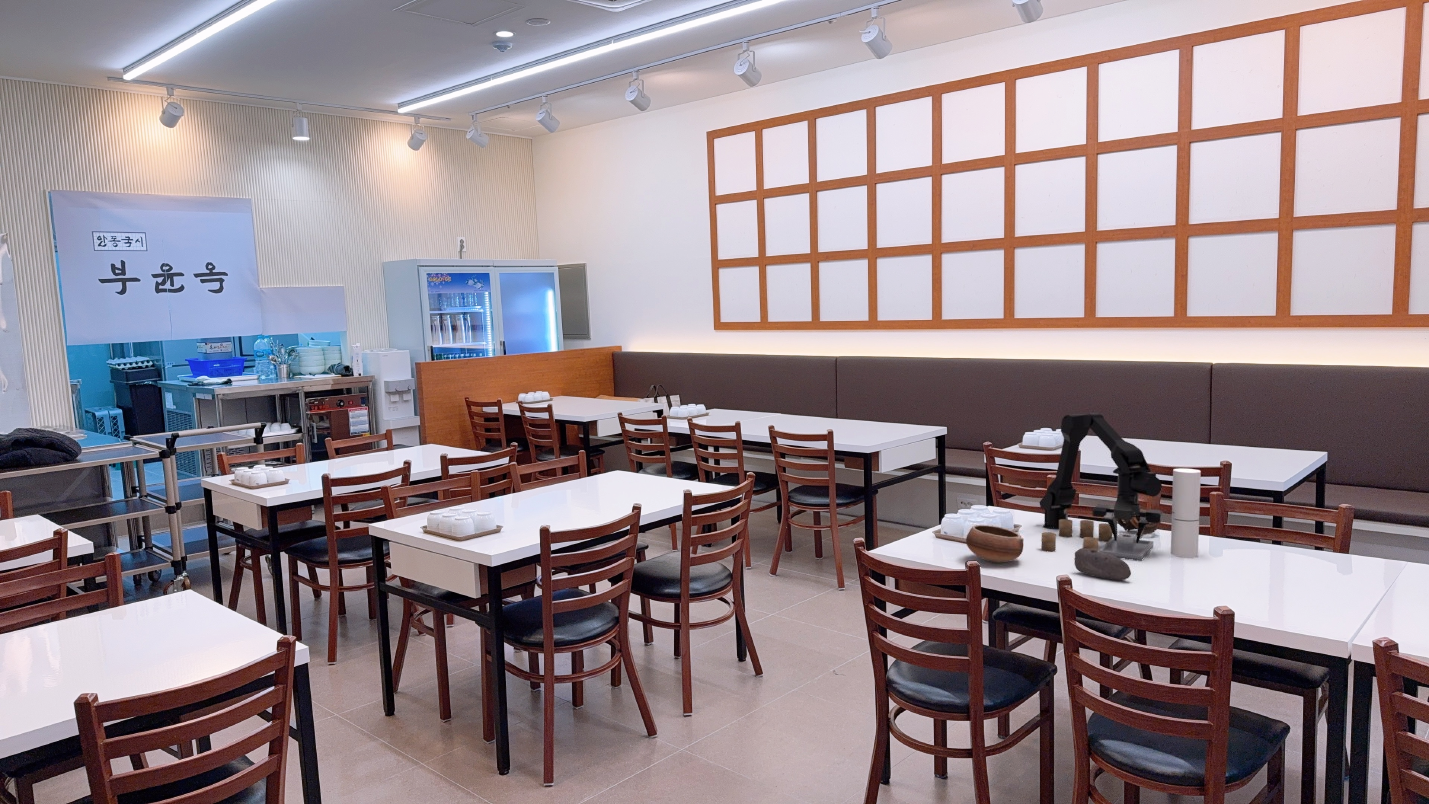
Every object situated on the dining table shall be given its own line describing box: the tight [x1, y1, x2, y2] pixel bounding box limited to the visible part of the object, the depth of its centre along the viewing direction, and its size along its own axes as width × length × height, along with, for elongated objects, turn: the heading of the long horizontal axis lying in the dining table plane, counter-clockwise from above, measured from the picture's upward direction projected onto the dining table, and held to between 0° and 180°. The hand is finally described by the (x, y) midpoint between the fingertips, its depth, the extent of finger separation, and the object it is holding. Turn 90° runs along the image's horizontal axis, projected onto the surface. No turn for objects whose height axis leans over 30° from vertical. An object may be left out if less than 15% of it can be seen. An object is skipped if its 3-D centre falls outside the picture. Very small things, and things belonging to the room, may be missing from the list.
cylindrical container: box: [1170, 467, 1202, 559], centre depth 270 cm, size 7×7×25 cm
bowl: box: [965, 524, 1024, 564], centre depth 268 cm, size 16×16×10 cm
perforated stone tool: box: [1073, 547, 1132, 581], centre depth 250 cm, size 15×5×7 cm, turn 39°
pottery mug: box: [1117, 517, 1159, 538], centre depth 297 cm, size 12×10×8 cm
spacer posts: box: [1041, 518, 1113, 553], centre depth 285 cm, size 16×26×5 cm, turn 146°
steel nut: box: [1117, 533, 1137, 552], centre depth 277 cm, size 4×4×4 cm
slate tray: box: [1098, 536, 1155, 562], centre depth 277 cm, size 12×20×2 cm, turn 146°
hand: (1126, 541), depth 277 cm, fingers open, 6 cm apart
